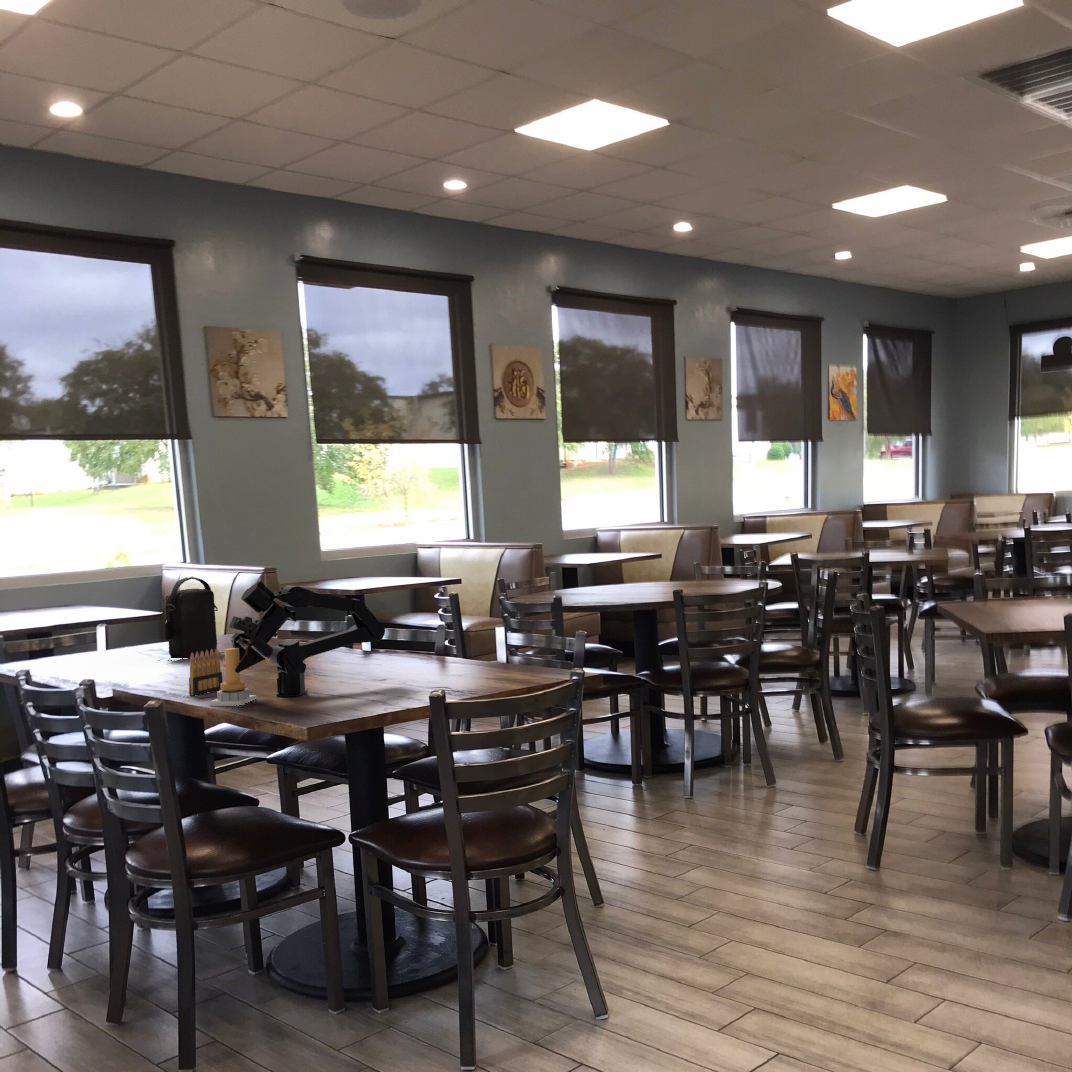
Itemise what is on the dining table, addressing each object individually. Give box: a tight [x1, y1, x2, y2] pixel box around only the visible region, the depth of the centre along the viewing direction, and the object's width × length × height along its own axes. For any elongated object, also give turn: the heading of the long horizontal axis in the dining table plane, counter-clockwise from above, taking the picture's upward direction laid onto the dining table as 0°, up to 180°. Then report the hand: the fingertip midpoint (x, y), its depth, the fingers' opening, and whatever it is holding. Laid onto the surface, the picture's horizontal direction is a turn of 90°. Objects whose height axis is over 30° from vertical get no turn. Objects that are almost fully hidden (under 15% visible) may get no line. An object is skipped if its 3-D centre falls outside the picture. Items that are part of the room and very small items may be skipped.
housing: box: [209, 687, 257, 707], centre depth 273 cm, size 9×9×3 cm
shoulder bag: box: [157, 576, 225, 662], centre depth 365 cm, size 23×9×28 cm, turn 151°
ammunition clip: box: [188, 647, 224, 697], centre depth 290 cm, size 11×2×12 cm, turn 150°
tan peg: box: [220, 647, 247, 693], centre depth 273 cm, size 6×6×13 cm
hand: (230, 669), depth 273 cm, fingers open, 9 cm apart
